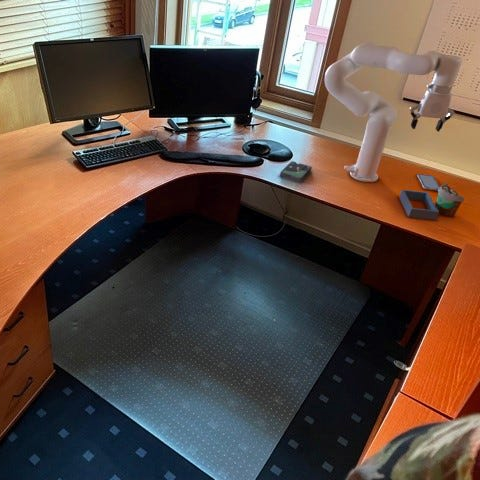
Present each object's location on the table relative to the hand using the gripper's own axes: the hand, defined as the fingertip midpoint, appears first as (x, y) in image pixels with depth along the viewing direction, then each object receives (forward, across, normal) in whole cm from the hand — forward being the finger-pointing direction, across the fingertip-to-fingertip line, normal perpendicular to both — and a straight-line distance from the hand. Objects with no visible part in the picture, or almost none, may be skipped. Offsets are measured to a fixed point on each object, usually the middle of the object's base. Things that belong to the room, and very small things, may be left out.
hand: (425, 129), depth 198 cm
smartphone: (+28, +13, +8) cm, 32 cm away
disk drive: (+29, -48, +2) cm, 56 cm away
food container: (+28, +11, -18) cm, 35 cm away
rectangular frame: (+28, +2, -18) cm, 33 cm away
